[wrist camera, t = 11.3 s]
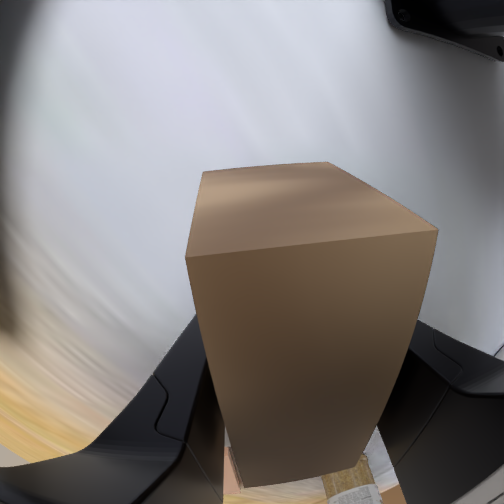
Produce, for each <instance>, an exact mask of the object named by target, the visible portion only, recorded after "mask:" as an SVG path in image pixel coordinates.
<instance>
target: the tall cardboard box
mask: <svg viewBox="0 0 504 504" xmlns="http://www.w3.org/2000/svg"><path fill="white" fill-rule="evenodd" d="M437 235H438V229H437V228H436V227H434V226H433V225H431V224H430V223H428V222H427V221H425V220H424V219H422V218H421V217H419V216H418V215H416V214H415V213H413V212H412V211H410V210H409V209H407V208H406V207H404V206H403V205H401V204H399V203H398V202H396V201H395V200H393V199H391V198H390V197H388V196H387V195H385V194H383V193H382V192H380V191H378V190H377V189H375V188H373V187H372V186H370V185H368V184H367V183H365V182H363V181H361V180H360V179H358V178H356V177H354V176H353V175H351V174H349V173H347V172H346V171H344V170H342V169H340V168H338V167H337V166H335V165H333V164H331V163H329V162H313V163H295V164H279V165H266V166H254V167H243V168H233V169H223V170H214V171H205V172H203V173H202V178H201V182H200V186H199V191H198V195H197V200H196V205H195V209H194V214H193V219H192V224H191V229H190V234H189V239H188V244H187V249H186V255H185V260H186V265H187V270H188V275H189V280H190V285H191V290H192V295H193V300H194V304H195V309H196V314H197V318H198V323H199V327H200V331H201V336H202V340H203V344H204V348H205V352H206V356H207V361H208V365H209V369H210V372H211V376H212V380H213V384H214V388H215V392H216V395H217V399H218V403H219V406H220V410H221V413H222V417H223V420H224V424H225V447H232V451H233V454H234V457H235V460H236V464H237V467H238V470H239V473H240V476H241V479H242V482H243V485H244V488H249V487H258V486H266V485H273V484H280V483H286V482H292V481H298V480H303V479H308V478H313V477H317V476H322V475H326V474H330V473H335V472H338V471H342V470H346V469H350V468H353V467H355V466H356V464H357V462H358V460H359V459H360V457H361V455H362V453H363V451H364V449H365V447H366V445H367V443H368V442H369V440H370V438H371V436H372V434H373V432H374V429H375V427H376V425H377V423H378V421H379V419H380V417H381V415H382V412H383V410H384V408H385V406H386V403H387V401H388V399H389V397H390V394H391V392H392V389H393V387H394V384H395V382H396V379H397V377H398V374H399V372H400V369H401V366H402V364H403V361H404V358H405V355H406V353H407V350H408V347H409V344H410V341H411V338H412V335H413V332H414V329H415V325H416V322H417V319H418V315H419V312H420V308H421V305H422V301H423V298H424V294H425V290H426V286H427V282H428V278H429V274H430V269H431V265H432V260H433V255H434V251H435V245H436V240H437Z"/></svg>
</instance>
